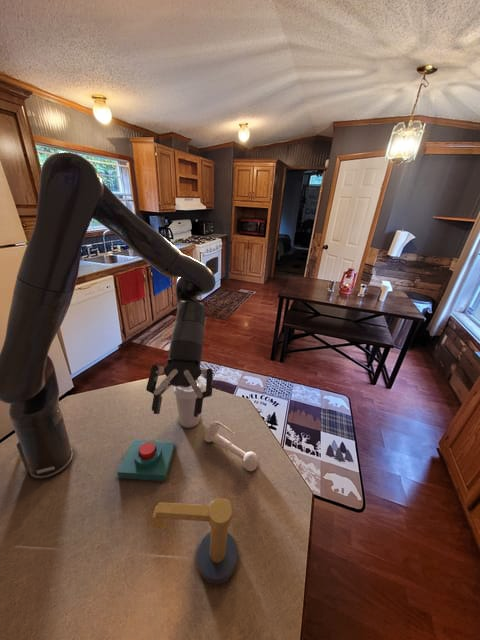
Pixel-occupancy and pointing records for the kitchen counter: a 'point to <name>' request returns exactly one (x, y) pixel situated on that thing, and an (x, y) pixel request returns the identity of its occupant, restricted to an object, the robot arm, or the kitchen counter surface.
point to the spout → (195, 513)
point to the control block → (147, 462)
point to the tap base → (217, 557)
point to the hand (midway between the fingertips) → (176, 415)
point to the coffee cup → (187, 404)
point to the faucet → (230, 445)
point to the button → (147, 450)
